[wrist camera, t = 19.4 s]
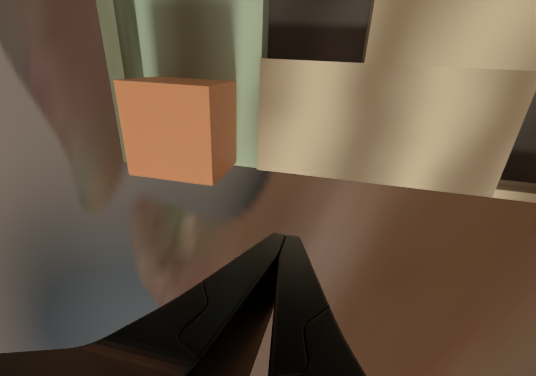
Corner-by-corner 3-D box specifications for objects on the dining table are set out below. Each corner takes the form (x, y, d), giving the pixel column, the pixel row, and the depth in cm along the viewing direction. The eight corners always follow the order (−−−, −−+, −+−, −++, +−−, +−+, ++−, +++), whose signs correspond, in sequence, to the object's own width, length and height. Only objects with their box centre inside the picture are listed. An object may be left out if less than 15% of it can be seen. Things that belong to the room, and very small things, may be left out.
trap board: (935, -108, 10) (1194, -181, 7) (698, 208, 16) (788, 245, 13) (127, -74, 16) (77, -106, 13) (154, 147, 22) (123, 162, 19)
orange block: (236, 81, 17) (208, 86, 13) (236, 162, 19) (212, 185, 15) (158, 76, 18) (113, 80, 14) (166, 154, 20) (129, 174, 16)
